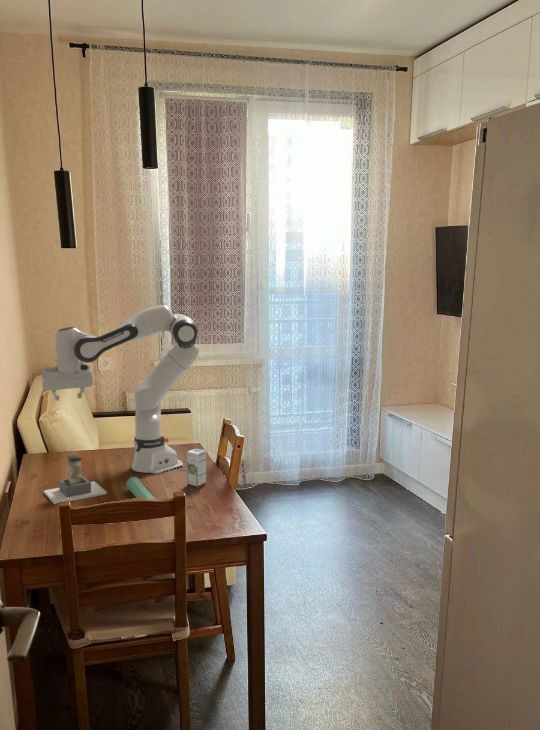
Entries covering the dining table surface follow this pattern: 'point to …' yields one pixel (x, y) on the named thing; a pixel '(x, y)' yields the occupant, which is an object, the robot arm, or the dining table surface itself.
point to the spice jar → (74, 470)
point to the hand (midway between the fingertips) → (68, 399)
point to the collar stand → (74, 491)
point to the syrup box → (196, 467)
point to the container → (138, 488)
